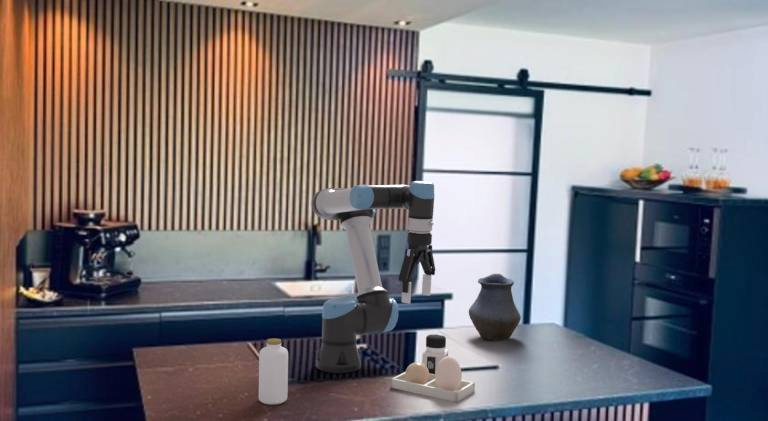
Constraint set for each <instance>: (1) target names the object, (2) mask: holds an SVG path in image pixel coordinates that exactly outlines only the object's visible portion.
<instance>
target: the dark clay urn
mask: <svg viewBox="0 0 768 421" xmlns="http://www.w3.org/2000/svg"><path fill="white" fill-rule="evenodd" d="M477 283H478V284H480V291H479V293H478V294H477V297H476V299H475V300H474V302H473V303H472V305H471V306H470V307H469V309H468V316H469V318H470V320H471V322H472V324H473V326H474V327H475V330H476V331H477V332H478V334H479V336H480V338H481V339H483V340H485V341H503V340H508V339H510V338H511V336H512V335H513V333H514V332H515V330H516V329H517V327H518V326H519V324H520V322H521V320H522V319H521V314H520V312H519V310H518V308H517V307H516V304H515V301H514V296H513V292H512V287H513V286H514V284H515V282H514V280H513V279H511V278H507V277H505V276H504V275H502V274H501V273H491V274H490V275H487V276H484V277H481V278H478V280H477Z"/></svg>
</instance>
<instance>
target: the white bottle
mask: <svg viewBox="0 0 768 421" xmlns="http://www.w3.org/2000/svg"><path fill="white" fill-rule="evenodd" d="M258 354H259V355H258V357H259V358H258V400H259V401H260V403H262V404H265V405H269V406H271V405H272V406H273V405H280V404H283V403H285V402H286V401H287V399H288V393H289V392H288V390H289V386H288V385H289V379H288V378H289V351H288V349H287V348H286V347H284V346H282V340H281V339H280V338H268V339H267V340H266V346H264V347H263V348H261V349H260V351H259V353H258Z"/></svg>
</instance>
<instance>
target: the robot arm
mask: <svg viewBox="0 0 768 421" xmlns="http://www.w3.org/2000/svg"><path fill="white" fill-rule="evenodd" d="M435 196H436V194H435V184H434V183H433V182H430V181H424V180H423V181H422V180H414V181H411V182H410V185H407V184H406V183H397V184H380V185H379V184H359V185H358V184H357V185H354V186H352V187H350V188H349V187H348V188H347V187H345V188H343V187H336V188H335V187H328V188H327V187H326V188H323V189H321V190H319V191H317V192H316V193H314V195H313V196H312V198H311V204H310V205H311V209H312V211H313V213H314V214H315V215H316V216H317V217H319V218H320V219H323V220H326V221H339V223H340V227H341V228H342V229H343V230H345V231H346V236H347V241H348V247H349V251H350V252H349V253H350V257H351V262H352V266H353V272H354V277H355V281H356V287H357V292H358V293H357V294H356V296H349V295H347V296H345V295H343V296H336V297H332V298H329V299H327V300H326V301H325V302H324V303H323V305H322V313H321V319H322V321H321V324H322V325H321V346H320V347H319V348H320V349H319V350H318V355H317V357H316V360H315V361H316V362H315V364H316V365H315V367H316V369H318V370H320V371H322V372H326V373H331V374H333V373H335V374H347V373H353V372H356V371H358V370H360V369H361V366H362V364H361V362H362V361H361V357H360V354H359V351H358V347H357V346H358V345H357V336H359V335H371V334H382V333H386V332H390V331H392V330H393V329H394V328H395V327H396V325H397V323H398V319H399V305H398V302H397V301H396V299H395V298H394V297H392V296H391V297H390V295H389V291H388V290H387V289H385V288H384V287H383V284H382V280H381V275H380V271H379V266H378V260H377V255H376V251H375V250H376V249H375V246H374V242H373V237H372V232H371V228H370V225H371V223H372V222H373V218H374V217H375V215H376V210H385V209H386V210H390V209H391V210H396V209H399V210H402V209H403V210H408V218H407V220H408V222H407V230H408V232H407V238H406V239H407V244H408V245H410V248H405V251H404V257H403V261H402V265H401V268H400V271H399V274H398V281H399V282H402V283H401V284H402V285H401V286H402V287H401V300H400V301H401V303H403V304H409V305H411V298H412V281H411V280H412V277H413V275H414V273H415V270H416V267H417V265H419V263H420V265H421V267H422V271H423V272H424V273H423V274H422V282H421V285H422V286H421V295H424V296H428V297H430V296H431V293H432V292H431V290H432V276H435V274H436V267H435V260H434V254H433V245H432V241H433V234H432V232H433V225H434V222H433V219H434V209H435V207H434V206H435V205H434V204H435Z"/></svg>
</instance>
